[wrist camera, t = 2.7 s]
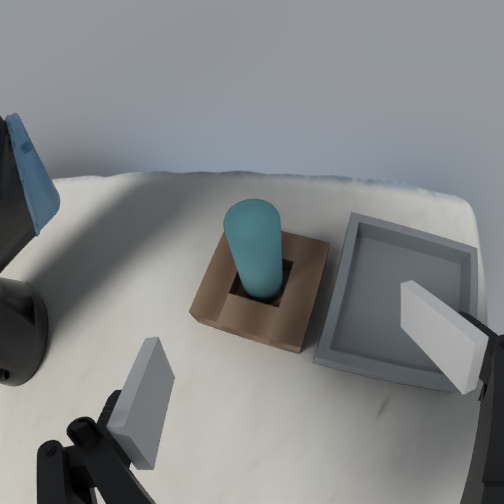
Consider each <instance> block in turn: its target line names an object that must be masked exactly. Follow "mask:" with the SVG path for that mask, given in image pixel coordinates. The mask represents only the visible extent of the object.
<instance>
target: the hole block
mask: <svg viewBox="0 0 504 504" xmlns="http://www.w3.org/2000/svg"><path fill="white" fill-rule="evenodd" d="M329 246H330V243H327V242H323V241H319V240H315V239H311V238H307V237H303V236H299V235H295V234H291V233H287V232H282V231H281V250H282V275H283V291H282V294H281V296H280V297H279V298H278V299H277V300H276V301H275V302H273V303H271V304H269V305H267V304H263V303H260V302H257V301H253V300H250V299H248V298H247V296H246V294H245V291H244V288H243V285H242V282H241V279H240V276H239V273H238V270H237V267H236V264H235V261H234V258H233V255H232V252H231V249H230V246H229V243H228V240H227V237H226V234H225V231H224V233H223V235H222V237H221V239H220V241H219V244H218V246H217V248H216V250H215V253H214V255H213V257H212V259H211V262H210V264H209V266H208V269H207V271H206V273H205V275H204V278H203V280H202V282H201V285H200V287H199V289H198V292H197V294H196V296H195V299H194V301H193V303H192V306H191V308H190V310H189V313H190V314H191V315H192V316H193V317H194V318H195V319H196V320H197V321H198V322H199V323H202V324H205V325H208V326H211V327H214V328H217V329H219V330H222V331H225V332H228V333H231V334H235V335H238V336H241V337H244V338H247V339H250V340H253V341H256V342H260V343H263V344H266V345H270V346H273V347H276V348H280V349H283V350H287V351H290V352H293V353H297V354H299V353H300V350H301V347H302V344H303V340H304V337H305V334H306V331H307V327H308V324H309V321H310V317H311V314H312V310H313V307H314V303H315V300H316V296H317V293H318V289H319V285H320V282H321V278H322V274H323V271H324V267H325V263H326V259H327V255H328V250H329Z"/></svg>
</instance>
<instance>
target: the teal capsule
mask: <svg viewBox="0 0 504 504" xmlns="http://www.w3.org/2000/svg"><path fill="white" fill-rule="evenodd" d="M223 226H224V231H225V234H226V237H227V240H228V243H229V246H230V249H231V252H232V255H233V258H234V261H235V264H236V267H237V270H238V273H239V276H240V279H241V282H242V285H243V288H244V291H245V294H246V296H247V298H248V299H250V300H253V301H257V302H260V303H263V304H267V305H269V304H271V303H273V302H275V301H276V300H277V299H278V298H279V297H280V296H281V294H282V291H283V275H282V250H281V227H280V216H279V213H278V211H277V210H276V208H275V207H274V206H273V205H271V204H270V203H268V202H266V201H264V200H259V199H248V200H244V201H241V202H239V203H237V204H235V205H234V206H232V207H231V208H230V209H229V210H228V212H227V213H226V215H225V218H224V222H223Z"/></svg>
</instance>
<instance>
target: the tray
mask: <svg viewBox="0 0 504 504" xmlns="http://www.w3.org/2000/svg"><path fill="white" fill-rule="evenodd" d="M410 280H413V281H414V282H416V283H417V284H419V285H420V286H421V287H423V288H424V289H426V290H427V291H428V292H430V293H431V294H433V295H434V296H435V297H437V298H438V299H439V300H441V301H442V302H444V303H445V304H446V305H448V306H449V307H450V308H452V309H453V310H454V311H456V312H457V313H458V312H460V311H462V312H465V313H468V314H470V315H472V316H473V317H474V318H477V295H478V260H477V248H475V247H472V246H469V245H466V244H462V243H459V242H456V241H453V240H450V239H446V238H443V237H440V236H436V235H433V234H430V233H426V232H423V231H419V230H416V229H412V228H409V227H405V226H402V225H398V224H394V223H391V222H387V221H383V220H380V219H376V218H372V217H368V216H364V215H360V214H356V213H352V212H351V216H350V219H349V223H348V227H347V230H346V235H345V240H344V244H343V249H342V253H341V258H340V262H339V266H338V270H337V274H336V279H335V283H334V287H333V291H332V294H331V298H330V302H329V306H328V310H327V313H326V317H325V321H324V324H323V328H322V331H321V335H320V338H319V342H318V345H317V349H316V352H315V355H314V359H313V362H312V363H315V364H319V365H322V366H326V367H330V368H334V369H338V370H342V371H346V372H350V373H354V374H359V375H363V376H367V377H372V378H376V379H381V380H386V381H390V382H395V383H400V384H405V385H411V386H416V387H421V388H427V389H433V390H439V391H445V392H451V393H452V392H457V391H459V390H458V388H457V387H456V386H455V385H454V384H453V383H452V382H451V381H450V379H449V378H448V377H447V376H446V375H445V374H444V373H443V372H442V371H441V369H440V368H439V367H438V366H437V365H436V364H435V363H434V362H433V361H432V360H431V358H430V357H429V356H428V355H427V354H426V353H425V352H424V351H423V350H422V349H421V348H420V347H419V346H418V344H417V343H416V342H415V341H414V340H413V339H412V338H411V337H410V336H409V335H408V334H407V333H406V332H405V331H404V330H403V329H402V328H401V283H404V282H407V281H410Z"/></svg>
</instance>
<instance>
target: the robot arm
mask: <svg viewBox="0 0 504 504" xmlns="http://www.w3.org/2000/svg"><path fill="white" fill-rule="evenodd" d="M59 206H60V196H59V193H58V191H57V189H56V187H55V186H54V184H53V182H52V180H51V178H50V176H49V175H48V173H47V171H46V169H45V167H44V165H43V163H42V161H41V160H40V158H39V156H38V154H37V152H36V150H35V148H34V146H33V144H32V142H31V140H30V138H29V136H28V133H27V131H26V129H25V128H24V125H23V123H22V122H21V119H20V117H19V115H18V114H17V113H14V114H12V115H8V116H7V117H6V118H5V120H3V119H2V118H1V116H0V273H1V272H2V271H3V270H4V268H5V267H6V266H7V265H8V264H9V263H10V262H11V261H12V260H13V259H14V257H15V256H16V255H17V254H18V253H19V252H20V251H21V250H22V249H23V248H24V247H25V246H26V245H27V244H28V243H29V242H30V241H31V240H32V239H33V238H34V237H35V236H38V235H39V234H40V230H41V229H42V228H43V227H44V226H45V225H46V224H47V223H48V222H49V221H50V220H51V219H52V218H53V217H54V216H55V215H56V213H57V212H58V210H59ZM401 328H402V329H403V330H404V331H405V332H406V333H407V334H408V335H409V336H410V337H411V338H412V339H413V340H414V341H415V342H416V343H417V344H418V346H419V347H420V348H421V349H422V350H423V351H424V352H425V353H426V354H427V355H428V356H429V357H430V358H431V360H432V361H433V362H434V363H435V364H436V365H437V366H438V367H439V368H440V369H441V371H442V372H443V373H444V374H445V375H446V376H447V377H448V378H449V379H450V381H451V382H452V383H453V384H454V385H455V386H456V387H457V388H458V390H459V391H460V392H461V393H462V394H463V395H465V394H467V393H468V392H470V391H472V390H474V389H476V387H477V384H478V380H479V378H480V379H481V380H482V381H483V382H484V384H483V387H482V390H481V393H480V397H479V400H478V401H480V400H481V404H480V413H479V420H478V427H477V433H476V439H475V445H474V450H473V455H472V460H471V464H470V468H469V473H468V477H467V481H466V484H465V488H464V492H463V495H462V499H461V502H460V504H504V335H500V336H498V335H497V334H496V333H494V332H493V331H492V330H490V329H489V328H488V327H486V326H485V325H484V324H482V323H481V322H480V321H478V320H476V318H474V317H473V316H472V315H470V314H468V313H465V312H462V311H460V312H458V313H457V312H456V311H454V310H453V309H452V308H450V307H449V306H448V305H446V304H445V303H444V302H442V301H441V300H439V299H438V298H437V297H435V296H434V295H433V294H431V293H430V292H428V291H427V290H426V289H424V288H423V287H421V286H420V285H419V284H417V283H416V282H414V281H413V280H410V281H407V282H404V283H401ZM47 335H48V318H47V312H46V308H45V305H44V302H43V300H42V298H41V297H40V295H39V294H38V293H37V292H36V291H35V290H34V289H32V288H31V287H29V286H28V285H26V284H25V283H23V282H20V281H17V280H12V279H6V278H1V277H0V383H1V384H4V385H8V386H18V385H21V384H23V383H24V382H26V381H27V380H28V379H29V378H30V377H31V376H32V375H33V374H34V373H35V371H36V370H37V368H38V366H39V364H40V362H41V360H42V357H43V354H44V351H45V347H46V342H47ZM174 379H175V377H174V374H173V372H172V370H171V367H170V365H169V362H168V360H167V357H166V355H165V352H164V350H163V347H162V345H161V342H160V339H159V337H154V338H147V339H145V341H144V343H143V345H142V347H141V349H140V351H139V354H138V356H137V358H136V360H135V362H134V364H133V367H132V369H131V371H130V373H129V375H128V378H127V380H126V382H125V384H124V387H123V389H122V390H115V391H114V392H113V393H112V394H111V395H110V396H109V397H108V399H107V402H106V404H105V406H104V408H103V410H102V412H101V414H100V417H99V419H98V421H97V423H95V421H94V420H93V419H92V418H90V417H80V418H77V419H75V420H74V421H72V422H71V423H70V424H69V426H68V428H67V430H66V431H67V435H68V437H69V438H70V439H71V441H72V442H73V443H74V445H73V446H68V447H63V446H62V444H61V443H60V442H59V441H56V440H49V441H47V442H45V443H43V444H42V445H41V446H40V447H39V449H38V452H37V504H98V503H97V499H96V494H95V489H94V487H97V489H98V490H99V492H100V494H101V496H102V498H103V499H104V501H105V503H106V504H156V503H155V502H154V500H153V499H152V498H151V497H150V495H149V494H148V493H147V492H146V490H145V489H144V488H143V487H142V485H141V484H140V483H139V481H138V480H137V479H136V477H135V476H134V474H133V473H132V472H131V471H130V469H129V468H130V464H131V462H132V464H133V465H134V466H135V467H136V469H137V470H154V465H155V461H156V456H157V451H158V447H159V442H160V438H161V433H162V429H163V425H164V420H165V416H166V412H167V408H168V403H169V399H170V395H171V391H172V387H173V383H174Z"/></svg>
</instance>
